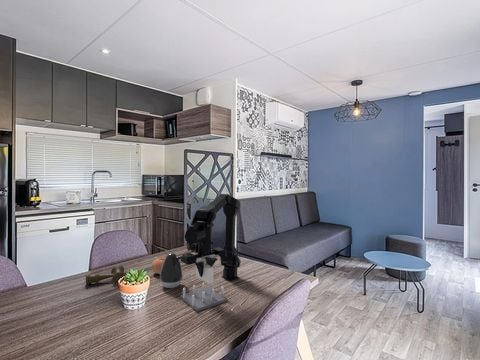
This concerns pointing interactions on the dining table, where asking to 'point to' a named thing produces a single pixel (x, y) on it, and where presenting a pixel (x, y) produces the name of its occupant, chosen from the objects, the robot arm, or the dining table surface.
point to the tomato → (158, 265)
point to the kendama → (106, 275)
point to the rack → (203, 297)
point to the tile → (206, 273)
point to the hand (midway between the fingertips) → (204, 276)
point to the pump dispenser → (171, 271)
